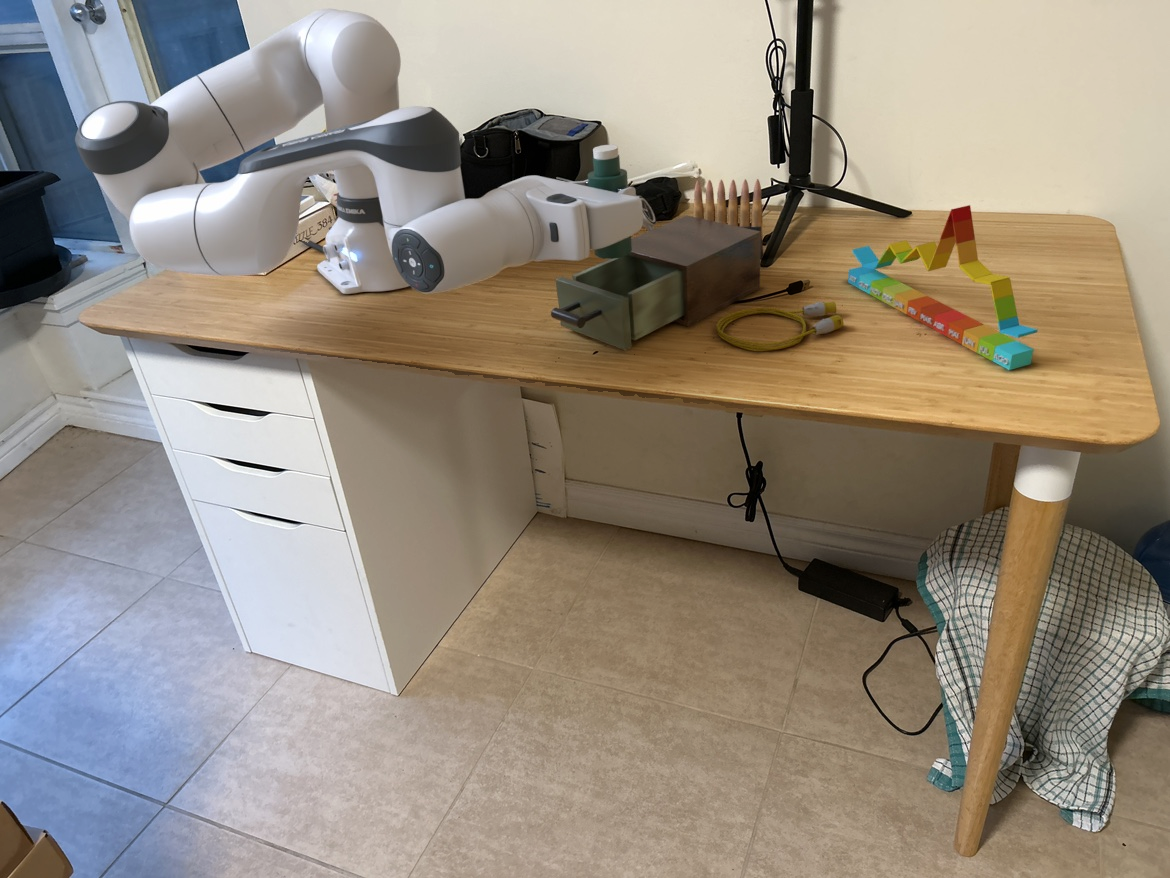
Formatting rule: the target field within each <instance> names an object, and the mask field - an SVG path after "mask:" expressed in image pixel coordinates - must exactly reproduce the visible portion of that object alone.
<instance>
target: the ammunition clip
mask: <svg viewBox="0 0 1170 878" xmlns="http://www.w3.org/2000/svg"><path fill="white" fill-rule="evenodd" d="M730 182H731V183H730V186H729V189H728V190H729V192H728V205H727V199H726V188H725V184H724V181H723V179H720V180H719V182H718V187H717V193H716V194H717V199H716V206H715V193H714V187H713V182H712V181H711V179H708V180H707V184H706V188H705V203H704V200H703V192H702V191H703V190H702V185H701V183H700V180H699V179H697V180H696V181H695V187H694V194H693V197H694V199H693V208H692V217H697V218H701V219H706V220H710V221H715V222H719V223H724V224H729V225H733V226H738V227H742V228H747V229H751V230H756V231H761V236H760V237H761V250H760V260H762V259H763V257H764V244H763V243H764V241H763V238H764V237H763V215H764V214H763V212H764V211H763V210H764V209H763V204H762V186H761V182H760V180H759V178H756V180H755V183H754V186H753V191H752V192H753V193H752V205H751V204H750V203H751V202H750V189H749V183H748V181H747V179H744V180H743V181H742V184H741V192H740V194H741V195H740V204H739V203H738V189H737V185H736V181H735V179H733V178H732V180H731V181H730ZM704 204H705V205H704Z"/></svg>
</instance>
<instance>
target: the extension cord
mask: <svg viewBox="0 0 1170 878" xmlns="http://www.w3.org/2000/svg"><path fill="white" fill-rule="evenodd" d="M801 313H802V315H803V316H808V317H818V318H819V317H824V316H826V315H832V316H830V317H826V318H822V319H821V320H819V321H817V323H814V325H812V326H811V327H810V330H808V331H807V325H806V321H805V319H804V317H802V316H800V315H798V314H801ZM836 313H837V304H836V302H835V301H830V302H829V301H828V302H825V301H821V302H818V301H816V302H815V303H811V304H808V305H804V306H802V309H799V310H783V309H780V308H777V307H766V306H765V307H762V306H761V307H751V308H747V309H742V310H738V311H733V312H732V313H729V314H727V315H725V316H723V317H721V318H720V319H719V320H718V321H717V322H716V324H715V328H716V330H717V335H718V336H719V337H720V338H721V339H722V340H724V341H726V342H727V343H729V344H730V345H733V346H735V347H738V348H740V349H743V350H748V351H751V352H752V351H754V352H768V351H777V350H783V349H787V348H790V347H792V346H795V345H797V344H799V343H800V342H801V341H802V340H803V339H804V337H805V336H807V335H809V334H813V335H816V336H817V335H823V334H825V335H828V334H829V333H831V332H833V331H837V330H839V329H841V328H843V326H844V324H845V323H844V319H843V318H842V317H841V316H840V315H839V314H836ZM756 314H772V315H777V316H781V317H785V318H788V319H790V320H794V321H796V322H798V323H800V324H801V325H802V331H801V333H800V334H797V335H795V336H792V337H790V338H787V339H784V340H780V341H775V342H760V341H759V342H758V341H750V340H746V339H741V338H737V337H734V336H731V335H730V334H727V333H725V332H724V330H725V328H726V327H727V326H728V325H729V324H730V323H732V322H733V321H736V320H737V319H740V318H743V317H746V316H751V315H756ZM834 314H836V315H834Z"/></svg>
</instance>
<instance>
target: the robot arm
mask: <svg viewBox="0 0 1170 878" xmlns="http://www.w3.org/2000/svg"><path fill="white" fill-rule="evenodd" d="M401 61H402V60H401V53H400V49H399V47H398V44H397V42H396V40H395V39H394V37H393V36H392V34H391V33H390V32H389V30H388V29H386V27H385V26H384V25H383V24H382V23H380V22H379V21H378V20H377V19H375V18H374V17H373V16H370V15H368V14H366V13H362V12H356V11H349V10H344V9H343V10H341V9H335V8H321V9H317V10H316V11H313V12H311V13H309V14H308V15H305V16H304V17H302V18H300V19H298V20H296V21H294V22H293V23H291V24H289V25H288V26H286V27H284V28H283V29H281V30H279V31H277V32H276V33H274V34H272V35H271V36H269V37H268V38H266V39H264V40H262V41H261V42H259V43H258V44H256V45H255V46H253V47H251V48H250V49H247V50H246V51H244V52H241V53H240V54H237V55H236V56H234V57H232V58H229V59H227V60H225V61H224V62H222V63H219V64H217V65H215V66H213V67H211V68H208V69H207V70H204V71H203V72H201V73H199V74H197V75H194V76H193V77H191V78H189V79H187V80H185V81H183V82H182V83H180V84H178V85H176V86H175V87H173V88H171V89H170V90H168V91H166V92H165V93H164V94H162V95H161V96H160V97H158V98H156V99H155V100H154V101H153V102H151V103H150V104H147V103H144V102H140V101H134V100H116V101H111V102H109V103H105V104H103V105H101V106H99V107H97V108H95V109H94V110H92V111H91V112H89V113H88V114H86V116H84V118H83V119H82V120H81V122H80V123H79V125H78V128H77V131H76V134H75V137H74V143H75V145H76V149H77V151H78V153H79V155H80V157H81V160H82V161H83V163H84V165H85V167H86V168H87V169H88V170H89V171H90V172H91V173H92V174H93V176H94V177H95V179H96V181H97V182H98V184H99V185H100V187H101V189H102V190H103V192H104V193H105V195H106V196H107V198H108V200H109V201H110V203H112V205H113V206H114V208H115V209H116V210H117V211H118V212H119V213H121V214H122V215H123V216H124V217H125V219H126V220H127V221H128V222H129V227H128V228H129V235H130V238H131V242H132V244H133V246H134V248H135V250H136V251H137V253H138V254H139V256H140V257H141V258H142V259H143V260H144V261H145V262H147V263H148V264H149V265H152V266H154V267H155V268H157V269H158V268H159V269H161V270H167V271H170V272H174V273H181V274H188V275H196V276H211V277H213V276H214V277H242V276H243V277H245V276H254V275H259V274H260V275H261V274H264V273H268V272H270V271H272V270H273V269H275V268H276V267H278V266H279V265H280V264H282V262H283V261H284V260H285V259H286V257H287V256H288V255H289V253H290V251H291V250H292V247H293V245H294V243H295V240H296V234H297V233H298V230H299V225H300V211H301V203H302V196H303V191H304V188H305V185H306V181H307V180H308V178H309V177H312V176H317V175H322V174H326V173H329V172H333V176H334V180H335V184H336V188H337V193H333V197H336V198H335V199H334V201H335V202H336V203H335V204H336V206H335V207H336V213H337V214H336V215H337V217H338V218H336V220H335V222H334V223H333V225H332V226H330V227H328V231H327V233H326V235H325V244H323V245H320V244H318V243H317V242H313V241H311V240H310V241H309V242H308V243H307V242H305V241H302V242H301V243H303V244H304V245H306V246H307V247H310V248H312V249H315V250H316V251H319V252H320V253H322V254H324V256H325V258H326V259H324V260H322V261H321V262H320V263H318V264H317V266H316V267H317V272H319V274H321V276H323V277H324V278H325V279H326V280H327V281H328V282H329V283H330V284H331V285H332V286H334V288H336V289H337V290H338V291H339V292H341V293H342V294H344V295H351V294H357V293H363V292H365V293H366V292H387V291H394V290H399V289H404V288H407V287H411V288H412V289H413V290H414V291H417V292H419V293H422V294H428V295H429V294H438V293H445V292H449V291H455V290H457V289H463V288H466V287H469V286H472V285H474V284H478V283H481V282H483V281H487V280H488V279H491V278H493V277H495V276H496V275H498V274H500V272H501V271H503V270H504V269H506V268H517V267H521V266H524V265H527V264H529V263H531V262H545V261H553V260H554V261H555V260H556V261H569V262H570V261H571V262H580V261H582V260H585V259H587V258H589V257H590V251H591V250H592V251H594V249H600V248H604V247H607V246H610V245H612V244H614V243H617V242H619V241H621V240H623V239H626V238H628V237H630V236H631V237H632V236H634V235H636V234H638V233H639V232H640V231H641V229H642V228H643V210H642V201H641V199H640V198H639V197H636V196H637V194H636V193H637V191H636V188H635V187H634V186H629V185H628V186H623V187H620V188H617V193H616V192H612V191H607V190H602V189H598V188H593V187H589V184H588V179H585V180H580V181H579V180H578V181H564V180H559V179H555V178H550V177H546V176H540V175H537V174H536V175H535V174H534V175H533V174H532V175H526V176H522V177H520V178H517V179H515V180H512V181H509V182H507V183H504V184H502V185H501V186H498V187H497V188H494V189H492V190H490V191H488V192H486V193H485V194H484V195H482V196H481V197H479V198H466V195H465V194H466V193H465V187H464V181H463V174H462V169H461V165H462V157H461V142H460V141H461V140H460V132H459V131H458V129H457V128H456V127H455V126H454V124H453V123H452V122H451V121H450V120H449V119H448V118H447V117H445V115H443V114H442V113H441V112H440V111H438V110H437V109H436V108H434V107H431V106H422V105H413V106H406V107H401V108H400V89H399V75H400V72H401ZM321 106H323V108H324V115H325V116H324V118H325V130H326V131H323V132H318V133H314V134H310V135H306V136H302V137H298V138H295V139H291V140H288V141H284V142H280V143H278V144H273V145H271V146H267V147H265V148H262V149H260V150H257V151H256V152H253V153H251V154H250V155H248V156H246V157H245V158H243V159H242V160H241V161H240V163H239V167H238V170H237V174H236V175H235V176H234V177H232V178H231V179H229V180H224V181H221V182H206V180H205V179H204V176H203V175H202V174H201V172H202V171H204V170H208V169H210V168H213V167H216V166H218V165H221V164H223V163H226V162H228V161H231V160H233V159H235V158H238V157H239V156H241V155H244V154H246V153H248V152H249V151H252V150H253V149H255V148H257V147H259V146H261V145H263V144H265V143H267V142H269V141H271V140H273V139H275V138H277V137H278V136H280V135H282V134H284V133H286V132H288V131H290V130H292V129H295V128H296V127H297V126H298V124H299V123H300V122H301V121H302V120H304V119H305V118H306V117H308V116H309V115H310V114H311V113H313V112H314V111H316V110H317V109H318V108H320V107H321Z"/></svg>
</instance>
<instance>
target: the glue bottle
mask: <svg viewBox="0 0 1170 878" xmlns="http://www.w3.org/2000/svg"><path fill="white" fill-rule="evenodd" d="M592 152H593V153H592V154H593V157H592V164H593V171H590V172H589V173H588V174H587V180H588V184H589V187H593V188H598V189H602V190H607V191H612V192H616V193H617V188H620V187H623V186H629V180H628V171H627V170H626V169H624V168H621V160H620V158H621V157H620V154H619V146H618V145H615V144H603V145H602V144H601V145H598V146H595V147H593V149H592ZM631 239H632V236H630V237H628V238H626V239H623V240H621V241H619V242H617V243H614V244H612V245H610V246H607V247H604V248H600V249H594V250H593V252H594V255H595V257H597V258H598V259H599V258H600V259H604V260H610V259H616V258H621V257H625V256H627V255H629V254H630V253H631V252H632V243H631Z"/></svg>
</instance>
